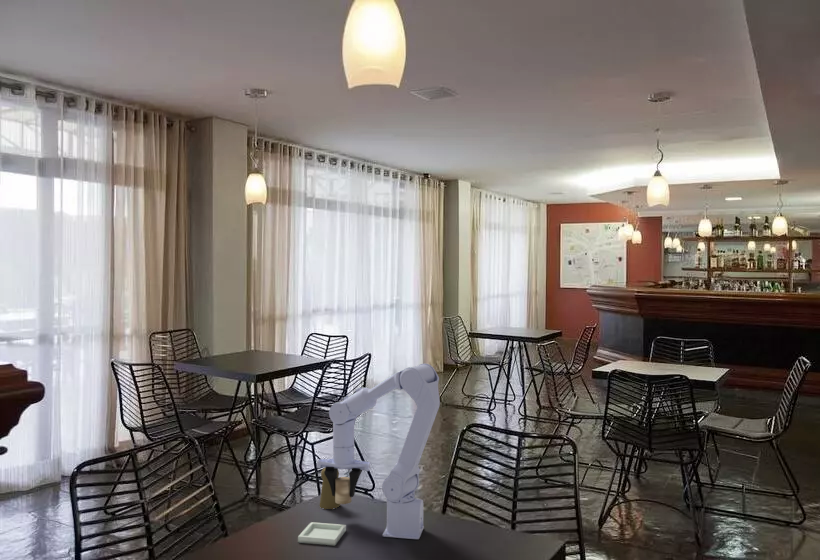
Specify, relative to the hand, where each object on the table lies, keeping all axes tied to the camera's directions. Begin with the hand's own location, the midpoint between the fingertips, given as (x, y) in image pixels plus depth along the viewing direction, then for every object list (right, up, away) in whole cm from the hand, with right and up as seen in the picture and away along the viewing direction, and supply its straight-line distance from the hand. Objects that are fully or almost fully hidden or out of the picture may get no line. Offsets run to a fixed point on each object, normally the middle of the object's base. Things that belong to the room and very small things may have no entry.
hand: (343, 495), depth 173 cm
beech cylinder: (0, -2, 0) cm, 2 cm away
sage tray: (-4, -7, -11) cm, 14 cm away
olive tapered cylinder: (-5, -7, +11) cm, 14 cm away
